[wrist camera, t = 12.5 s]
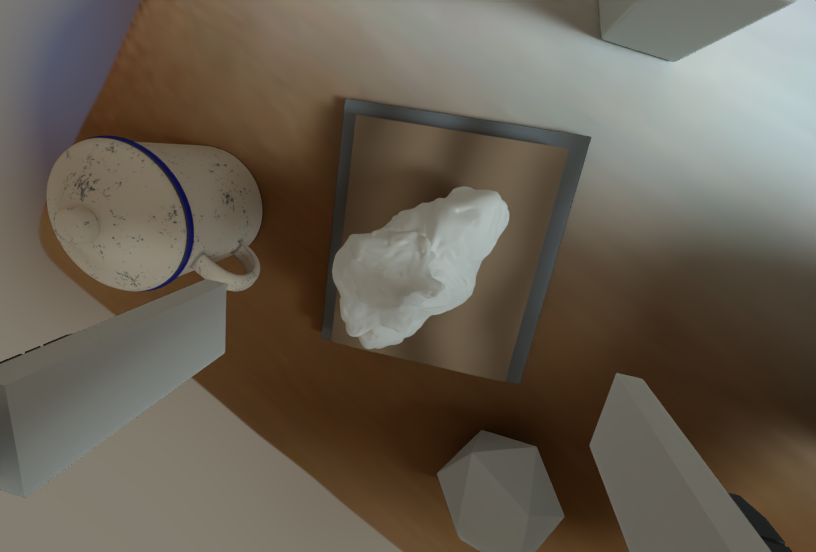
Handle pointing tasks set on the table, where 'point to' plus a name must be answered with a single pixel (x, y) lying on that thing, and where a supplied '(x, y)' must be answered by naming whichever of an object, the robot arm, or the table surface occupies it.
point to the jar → (678, 23)
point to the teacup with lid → (154, 212)
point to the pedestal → (435, 178)
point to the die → (500, 495)
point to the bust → (416, 265)
